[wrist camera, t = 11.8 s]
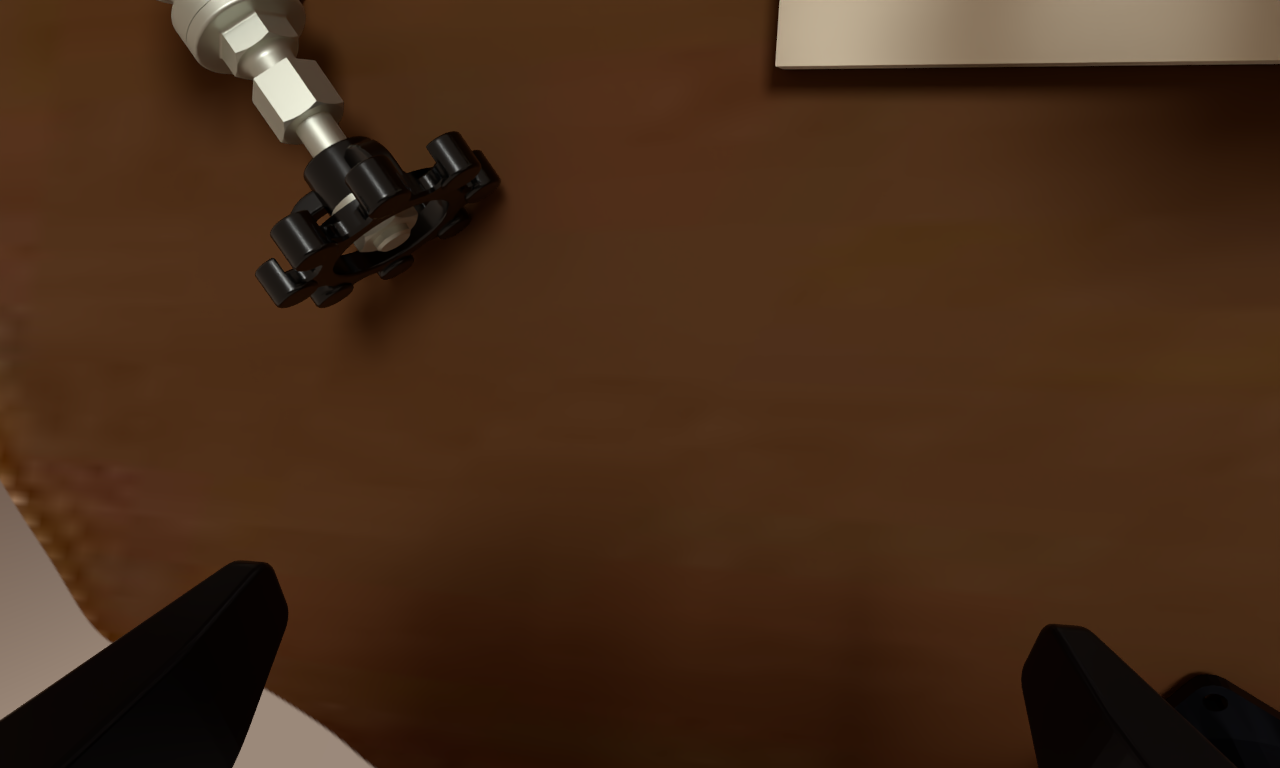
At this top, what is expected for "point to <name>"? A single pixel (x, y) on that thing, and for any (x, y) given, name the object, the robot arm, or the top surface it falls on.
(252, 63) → the valve
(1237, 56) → the din board
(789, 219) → the top surface
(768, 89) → the top surface
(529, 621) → the top surface
